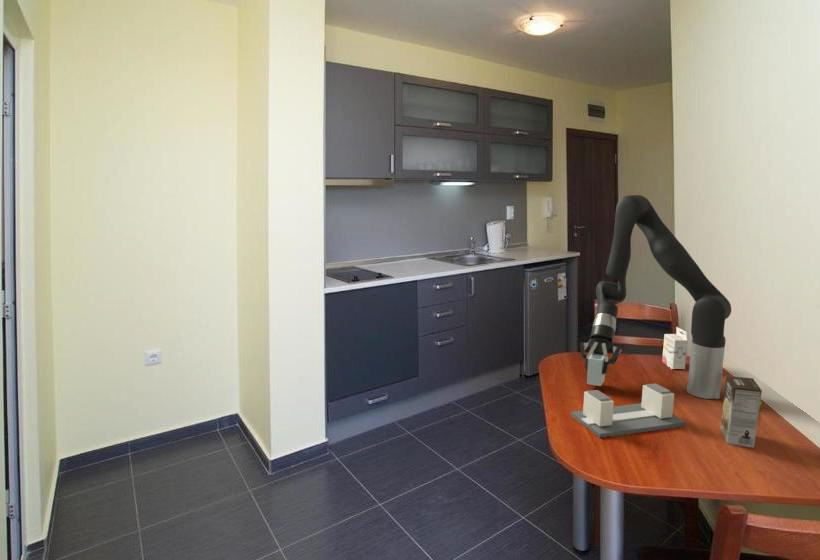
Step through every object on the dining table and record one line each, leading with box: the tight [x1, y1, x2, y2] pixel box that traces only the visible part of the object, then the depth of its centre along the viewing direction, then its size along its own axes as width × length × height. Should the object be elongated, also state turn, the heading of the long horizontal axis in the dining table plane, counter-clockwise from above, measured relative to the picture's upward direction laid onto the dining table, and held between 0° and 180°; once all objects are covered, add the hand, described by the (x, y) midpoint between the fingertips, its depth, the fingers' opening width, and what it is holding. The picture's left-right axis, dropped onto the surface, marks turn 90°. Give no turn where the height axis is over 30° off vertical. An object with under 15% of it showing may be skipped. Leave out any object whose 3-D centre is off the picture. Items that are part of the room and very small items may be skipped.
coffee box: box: [720, 375, 763, 449], centre depth 130 cm, size 9×6×16 cm
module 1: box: [582, 389, 615, 426], centre depth 138 cm, size 4×8×8 cm, turn 14°
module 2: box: [640, 382, 675, 419], centre depth 143 cm, size 4×8×8 cm, turn 14°
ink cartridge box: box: [661, 326, 688, 370], centre depth 185 cm, size 9×5×15 cm, turn 179°
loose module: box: [586, 353, 606, 387], centre depth 165 cm, size 4×7×9 cm, turn 149°
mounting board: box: [570, 402, 687, 439], centre depth 141 cm, size 28×14×2 cm, turn 104°
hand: (595, 371), depth 164 cm, fingers closed on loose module, 4 cm apart
